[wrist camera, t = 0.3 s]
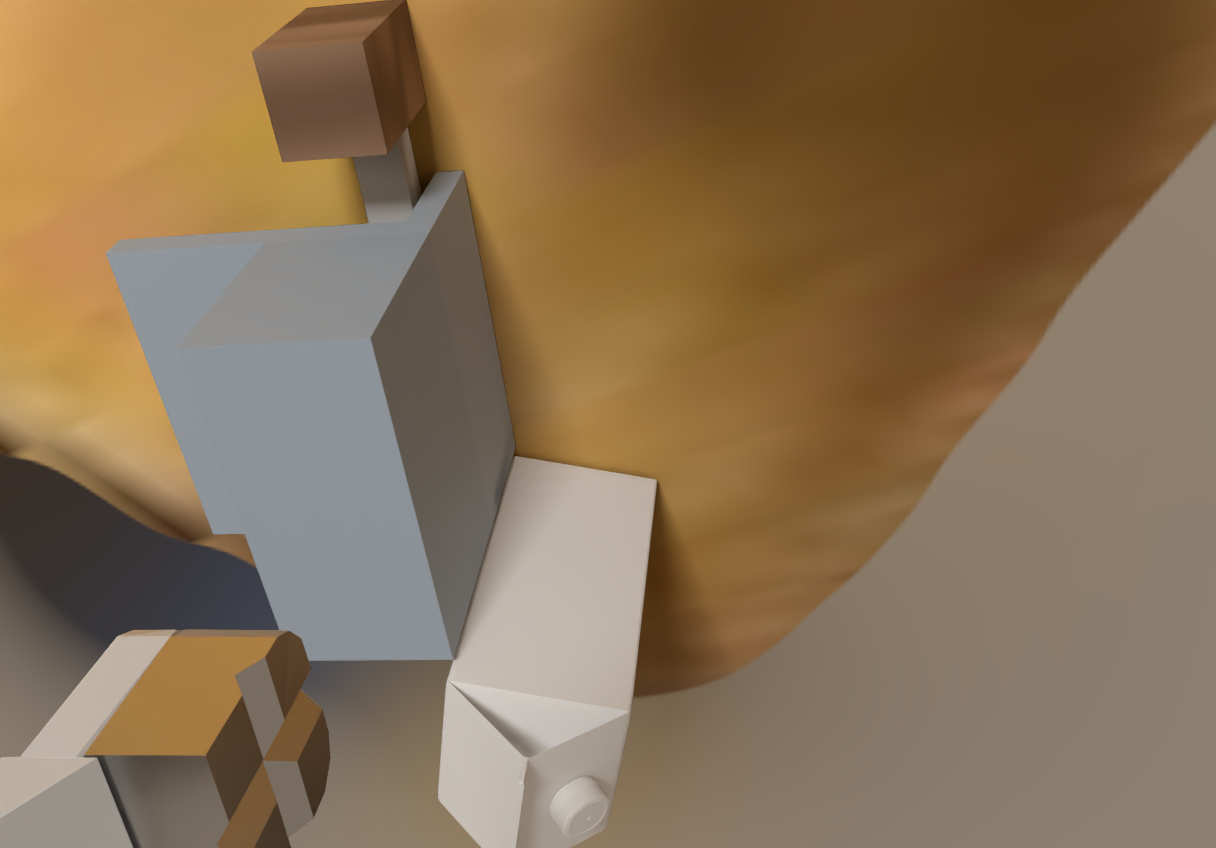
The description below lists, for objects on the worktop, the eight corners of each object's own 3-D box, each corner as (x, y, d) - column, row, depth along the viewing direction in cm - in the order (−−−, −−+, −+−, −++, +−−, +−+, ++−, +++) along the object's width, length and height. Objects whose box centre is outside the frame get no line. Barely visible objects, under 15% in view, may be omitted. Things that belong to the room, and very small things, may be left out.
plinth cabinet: (172, 191, 50) (-7, 356, 38) (463, 170, 48) (370, 337, 36) (261, 455, 57) (135, 661, 45) (515, 447, 55) (453, 659, 44)
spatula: (307, 8, 45) (251, 51, 40) (405, -2, 44) (362, 41, 39) (398, 380, 54) (363, 453, 49) (481, 376, 53) (454, 450, 48)
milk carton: (502, 562, 60) (413, 886, 44) (513, 451, 56) (420, 765, 40) (637, 584, 59) (596, 917, 44) (658, 476, 55) (622, 800, 40)
